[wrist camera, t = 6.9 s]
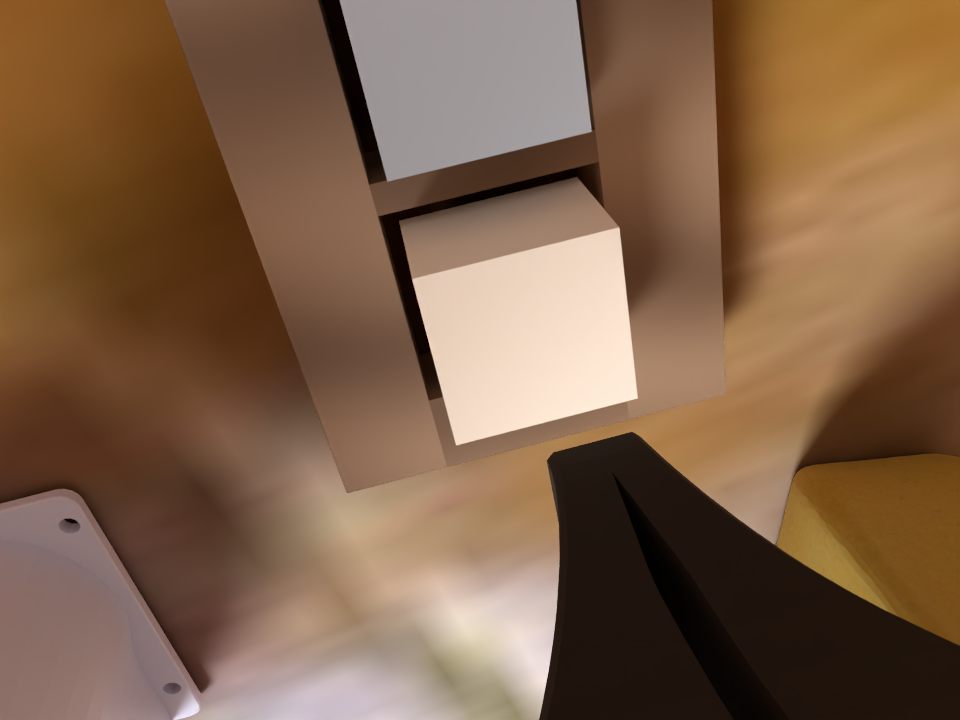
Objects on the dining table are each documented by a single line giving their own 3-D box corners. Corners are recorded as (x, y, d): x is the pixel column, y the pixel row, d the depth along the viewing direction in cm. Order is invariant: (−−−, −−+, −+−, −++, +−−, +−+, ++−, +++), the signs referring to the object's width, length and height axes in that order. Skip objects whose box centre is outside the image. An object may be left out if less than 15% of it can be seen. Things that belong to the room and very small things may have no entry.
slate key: (553, 95, 18) (591, 131, 16) (378, 138, 18) (387, 181, 15) (524, -109, 16) (563, -105, 13) (325, -64, 16) (326, -51, 13)
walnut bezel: (693, 351, 23) (726, 394, 21) (344, 441, 22) (347, 492, 21) (626, -757, 12) (680, -868, 10) (-36, -625, 12) (-102, -718, 10)
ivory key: (597, 331, 20) (637, 398, 17) (438, 372, 20) (456, 445, 17) (576, 176, 18) (619, 227, 15) (399, 220, 18) (412, 279, 15)
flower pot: (749, 416, 24) (943, 662, 17) (1008, 392, 26) (1298, 610, 18) (704, 620, 29) (841, 888, 21) (927, 592, 30) (1132, 834, 23)
